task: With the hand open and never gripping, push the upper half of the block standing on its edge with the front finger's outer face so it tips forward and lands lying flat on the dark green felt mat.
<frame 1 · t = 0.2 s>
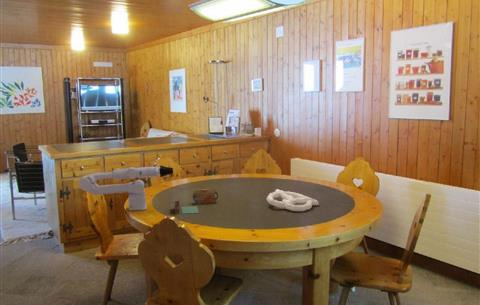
hand: (172, 170, 239), 21 cm above the table, fingers open, 7 cm apart
block: (177, 211, 233), on the table
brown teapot: (205, 203, 251), on the table
pretzel: (290, 206, 243), on the table
mat: (189, 210, 234), on the table
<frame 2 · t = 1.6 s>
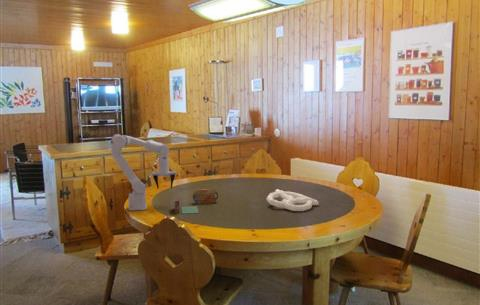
hand: (164, 187, 243), 10 cm above the table, fingers open, 7 cm apart
nothing on the table moved.
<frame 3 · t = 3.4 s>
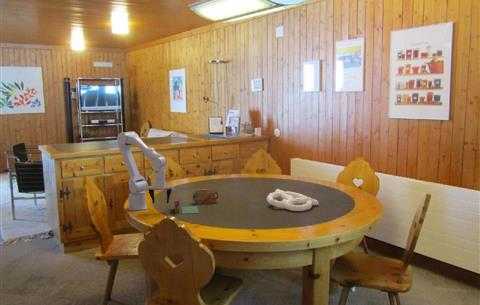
hand: (160, 202, 231), 5 cm above the table, fingers open, 7 cm apart
nothing on the table moved.
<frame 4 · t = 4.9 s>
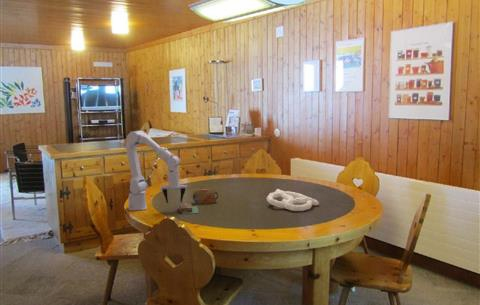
hand: (174, 202, 232), 5 cm above the table, fingers open, 7 cm apart
block: (179, 208, 233), point 1 cm above the table, tilted 90°, touching mat
everything else where it was.
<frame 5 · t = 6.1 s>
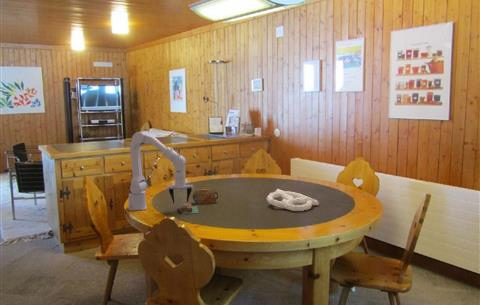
hand: (180, 202, 233), 5 cm above the table, fingers open, 7 cm apart
nothing on the table moved.
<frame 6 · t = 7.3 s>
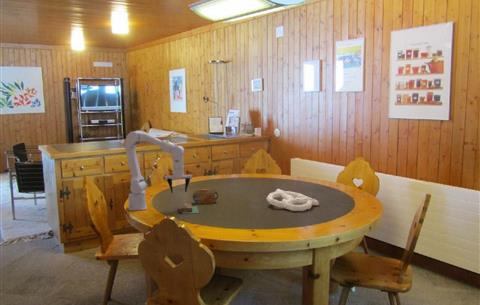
hand: (178, 192, 233), 10 cm above the table, fingers open, 7 cm apart
nothing on the table moved.
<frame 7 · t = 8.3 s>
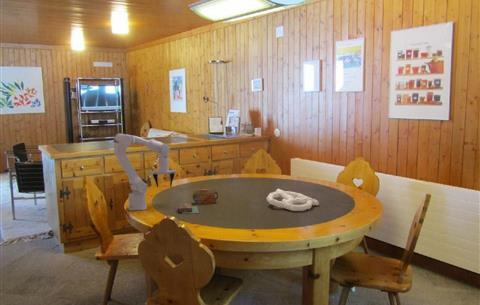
hand: (164, 186, 247), 10 cm above the table, fingers open, 7 cm apart
nothing on the table moved.
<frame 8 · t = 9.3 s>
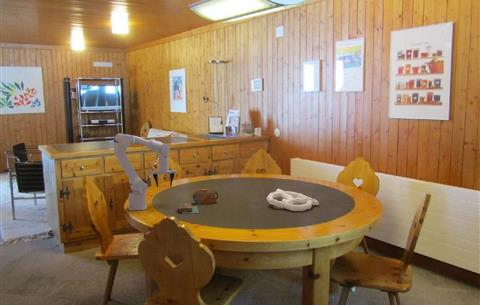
hand: (164, 186, 247), 10 cm above the table, fingers open, 7 cm apart
nothing on the table moved.
at the end: block tilted 90°; block inside the target area (3.9 cm from its centre), point 1.5 cm above the table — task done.
